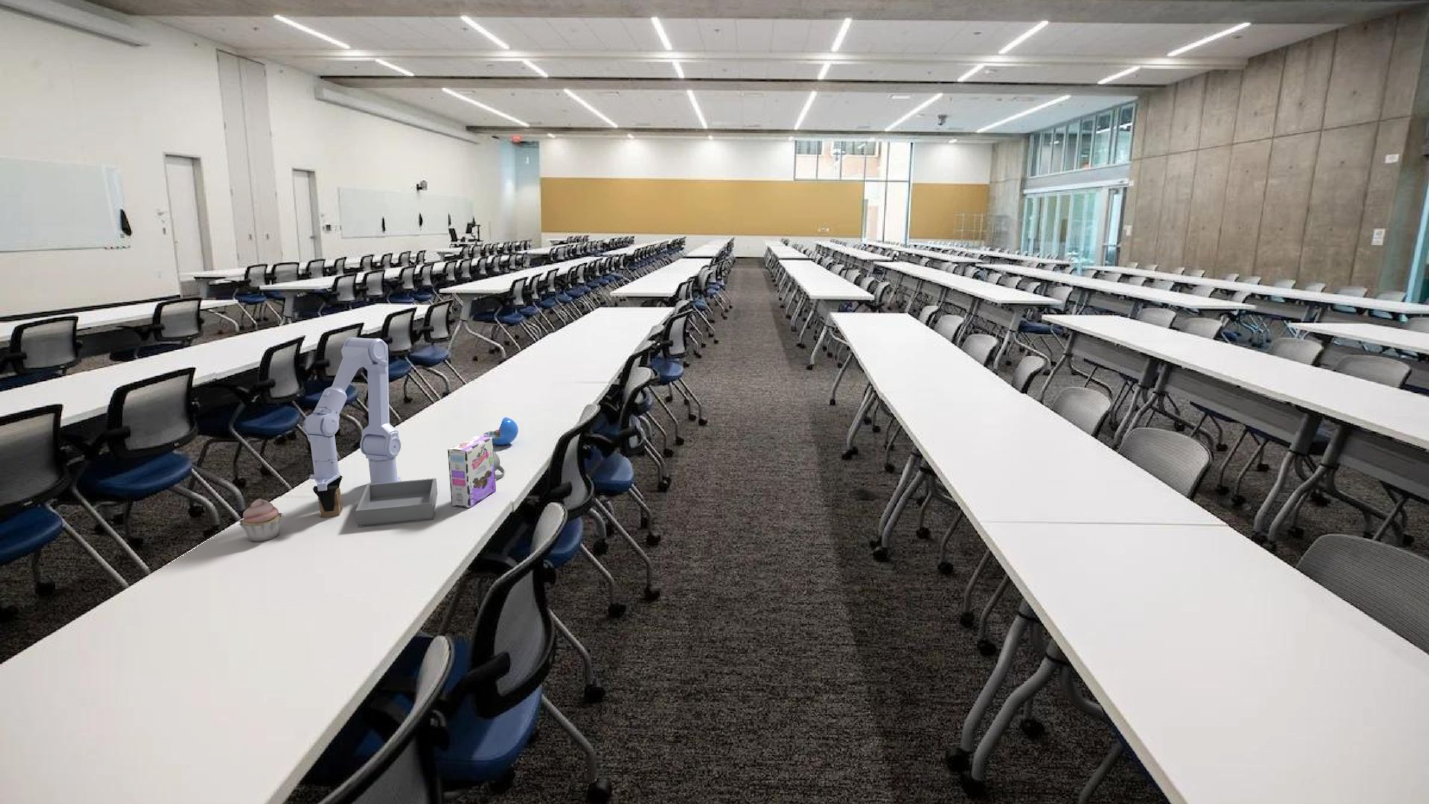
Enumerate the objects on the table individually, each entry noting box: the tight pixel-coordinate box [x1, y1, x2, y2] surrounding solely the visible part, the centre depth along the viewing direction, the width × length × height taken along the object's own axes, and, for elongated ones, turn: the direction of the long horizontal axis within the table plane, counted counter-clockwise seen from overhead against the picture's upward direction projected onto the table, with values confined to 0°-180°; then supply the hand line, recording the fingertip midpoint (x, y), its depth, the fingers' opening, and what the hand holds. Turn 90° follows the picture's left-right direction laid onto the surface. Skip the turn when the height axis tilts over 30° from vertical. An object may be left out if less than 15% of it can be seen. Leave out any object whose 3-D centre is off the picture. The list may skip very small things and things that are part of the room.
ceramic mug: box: [493, 450, 506, 480], centre depth 226 cm, size 11×8×8 cm
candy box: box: [447, 435, 497, 509], centre depth 207 cm, size 14×6×16 cm, turn 165°
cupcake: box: [238, 498, 284, 542], centre depth 182 cm, size 9×9×10 cm
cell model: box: [483, 416, 519, 446], centre depth 257 cm, size 10×12×10 cm
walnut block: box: [317, 487, 343, 518], centre depth 197 cm, size 4×4×6 cm
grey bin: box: [355, 477, 438, 528], centre depth 200 cm, size 20×18×4 cm
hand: (331, 507), depth 197 cm, fingers closed on walnut block, 4 cm apart
